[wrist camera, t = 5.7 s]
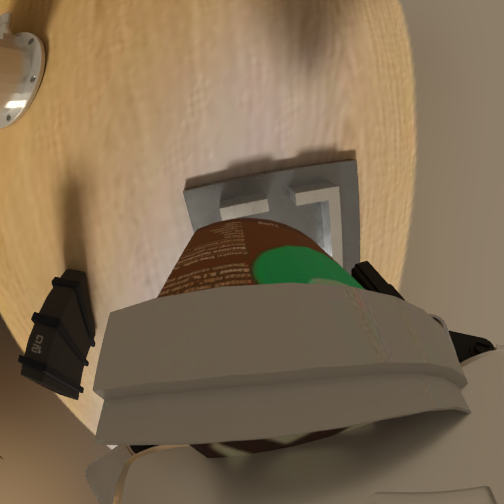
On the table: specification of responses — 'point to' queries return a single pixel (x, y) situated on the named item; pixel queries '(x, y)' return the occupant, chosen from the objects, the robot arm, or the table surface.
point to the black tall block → (61, 337)
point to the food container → (266, 350)
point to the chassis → (290, 204)
